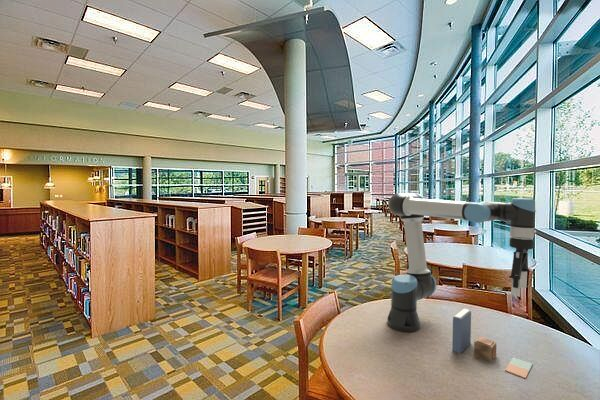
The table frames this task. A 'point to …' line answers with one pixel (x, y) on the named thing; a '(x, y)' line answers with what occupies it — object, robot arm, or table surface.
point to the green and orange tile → (517, 370)
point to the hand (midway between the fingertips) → (518, 291)
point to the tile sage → (521, 363)
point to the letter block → (485, 348)
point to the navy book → (461, 330)
